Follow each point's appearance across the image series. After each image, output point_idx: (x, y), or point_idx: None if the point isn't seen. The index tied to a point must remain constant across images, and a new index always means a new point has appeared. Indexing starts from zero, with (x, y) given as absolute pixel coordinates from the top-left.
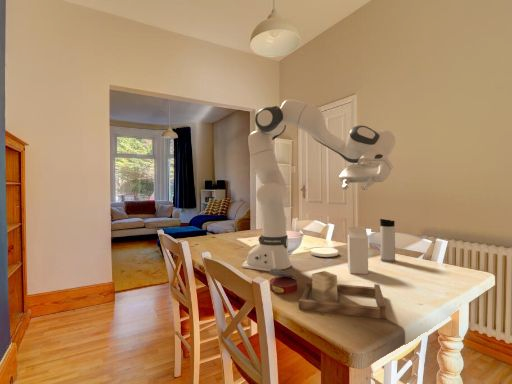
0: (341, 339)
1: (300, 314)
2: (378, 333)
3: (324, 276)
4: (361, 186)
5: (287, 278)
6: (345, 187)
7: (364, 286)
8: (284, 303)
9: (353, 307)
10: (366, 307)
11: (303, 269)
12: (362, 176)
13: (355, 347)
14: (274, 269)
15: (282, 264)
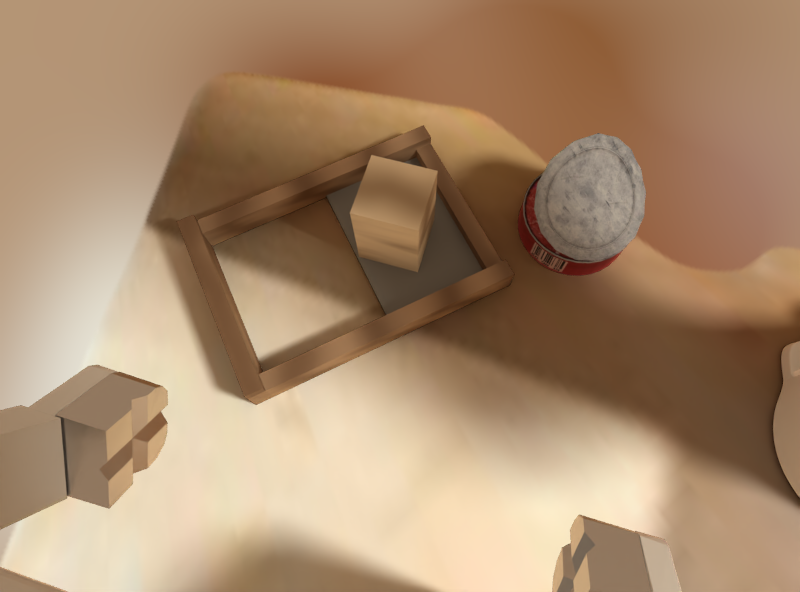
0: (255, 90)
1: (399, 120)
2: (191, 161)
3: (382, 174)
4: (151, 383)
5: (596, 250)
6: (571, 549)
7: (301, 373)
8: (481, 143)
9: (270, 190)
10: (235, 208)
11: (703, 496)
12: (38, 581)
13: (219, 84)
14: (600, 137)
15: (796, 414)
